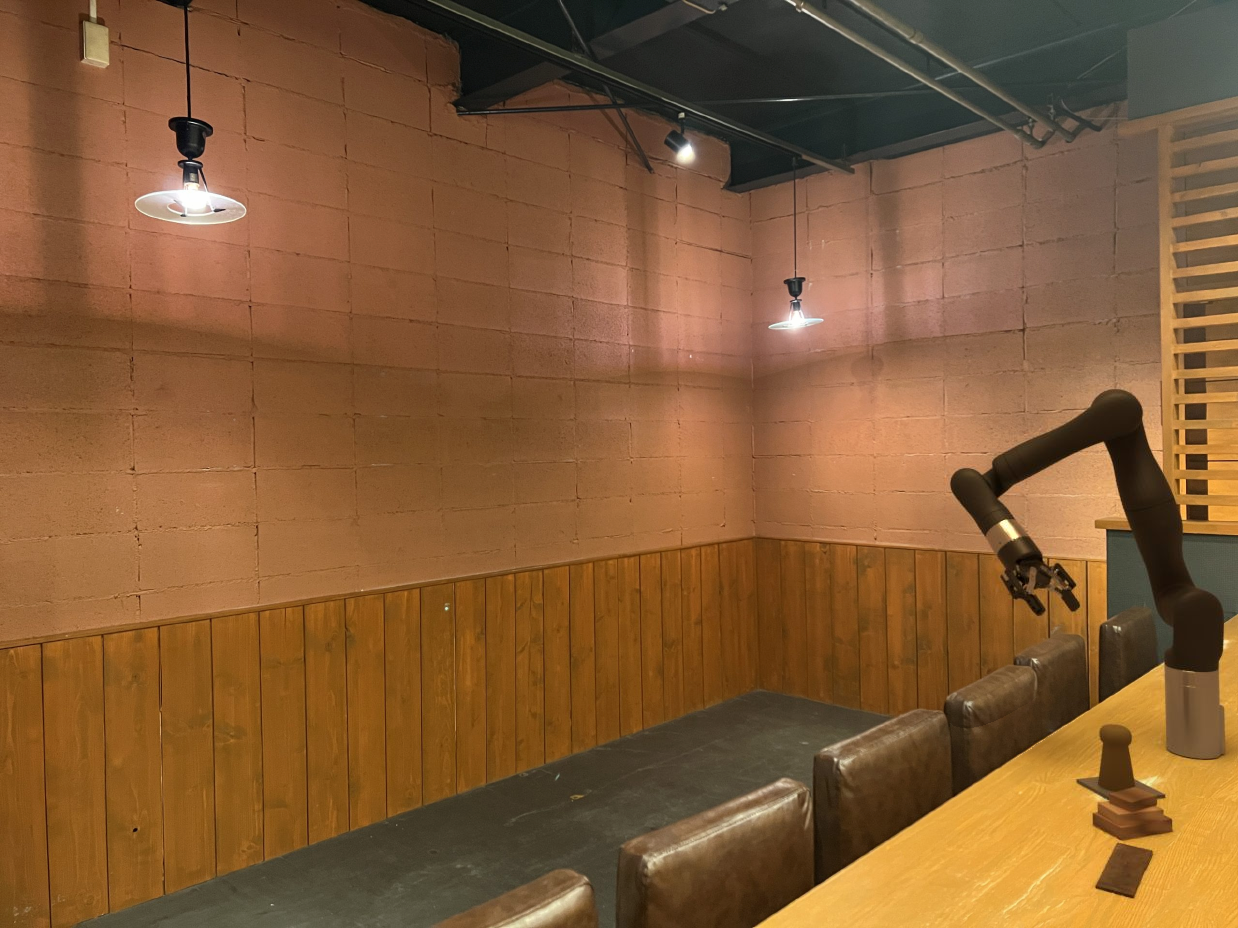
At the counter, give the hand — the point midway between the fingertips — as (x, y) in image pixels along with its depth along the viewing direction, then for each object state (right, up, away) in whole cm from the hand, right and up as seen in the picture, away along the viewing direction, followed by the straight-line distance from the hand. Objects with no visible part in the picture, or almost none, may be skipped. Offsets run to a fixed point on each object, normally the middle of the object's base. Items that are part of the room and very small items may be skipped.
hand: (1059, 611), depth 171 cm
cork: (+5, -30, -10) cm, 32 cm away
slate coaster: (+6, -31, -10) cm, 33 cm away
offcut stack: (-1, -31, -26) cm, 40 cm away
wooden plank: (-10, -33, -39) cm, 52 cm away
